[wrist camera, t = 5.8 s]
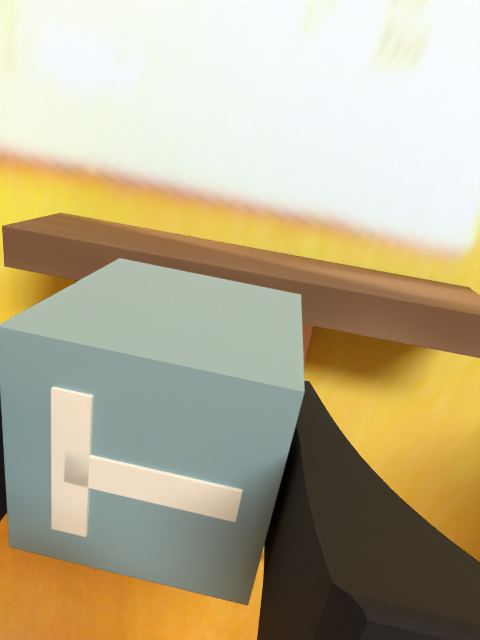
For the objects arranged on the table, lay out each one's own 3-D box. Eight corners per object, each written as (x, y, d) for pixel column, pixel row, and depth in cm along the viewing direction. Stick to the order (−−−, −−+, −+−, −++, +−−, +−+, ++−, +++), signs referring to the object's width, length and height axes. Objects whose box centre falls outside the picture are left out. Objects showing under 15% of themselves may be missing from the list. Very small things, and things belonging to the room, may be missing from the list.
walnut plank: (456, 320, 18) (498, 361, 14) (61, 245, 19) (4, 266, 15) (468, 287, 17) (515, 321, 14) (60, 213, 19) (2, 225, 15)
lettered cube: (265, 445, 13) (247, 609, 8) (110, 410, 13) (7, 550, 8) (301, 294, 11) (304, 394, 6) (119, 258, 11) (-7, 327, 7)
